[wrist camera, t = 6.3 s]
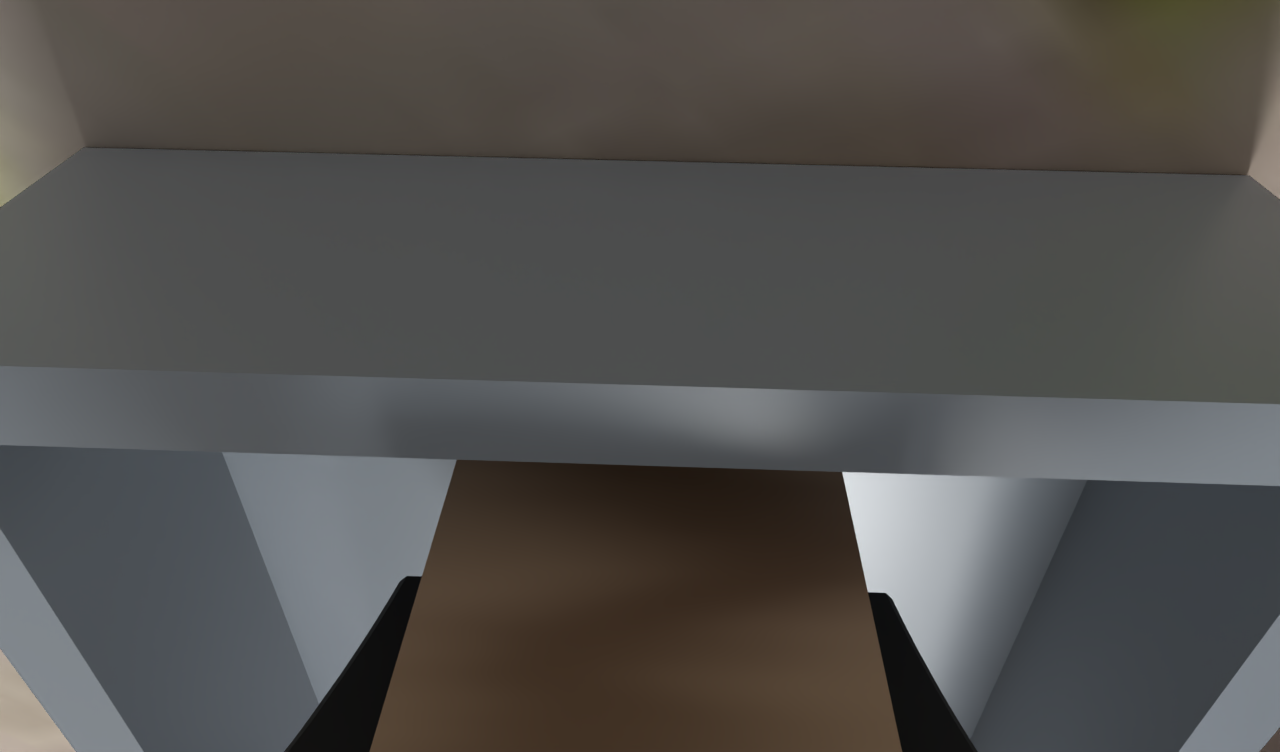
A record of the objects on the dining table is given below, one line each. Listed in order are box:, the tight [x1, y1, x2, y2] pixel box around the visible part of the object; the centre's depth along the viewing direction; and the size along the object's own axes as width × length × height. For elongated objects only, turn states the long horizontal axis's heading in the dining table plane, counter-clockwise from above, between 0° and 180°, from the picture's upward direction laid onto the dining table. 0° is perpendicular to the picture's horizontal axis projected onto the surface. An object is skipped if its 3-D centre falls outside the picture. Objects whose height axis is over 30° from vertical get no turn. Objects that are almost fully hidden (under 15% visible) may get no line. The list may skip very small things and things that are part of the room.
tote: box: [0, 148, 1280, 752], centre depth 16 cm, size 16×20×5 cm
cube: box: [370, 460, 902, 752], centre depth 11 cm, size 5×5×5 cm
